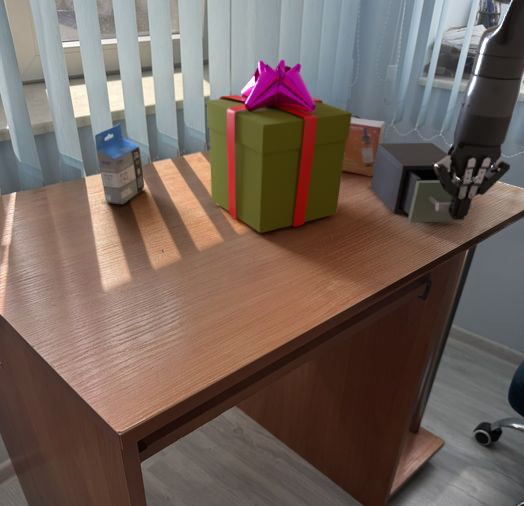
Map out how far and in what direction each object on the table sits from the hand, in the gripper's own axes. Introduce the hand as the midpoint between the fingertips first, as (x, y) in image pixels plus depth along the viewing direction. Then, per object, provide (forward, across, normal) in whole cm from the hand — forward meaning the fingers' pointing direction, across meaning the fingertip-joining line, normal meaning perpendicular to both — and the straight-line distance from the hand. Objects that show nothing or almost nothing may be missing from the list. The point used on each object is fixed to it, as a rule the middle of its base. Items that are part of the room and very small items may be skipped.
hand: (456, 217), depth 88 cm
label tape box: (+4, -56, +25) cm, 62 cm away
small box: (+4, -5, +37) cm, 37 cm away
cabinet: (+4, 0, +19) cm, 19 cm away
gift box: (+4, -29, +16) cm, 33 cm away
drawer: (+3, 0, +10) cm, 10 cm away
